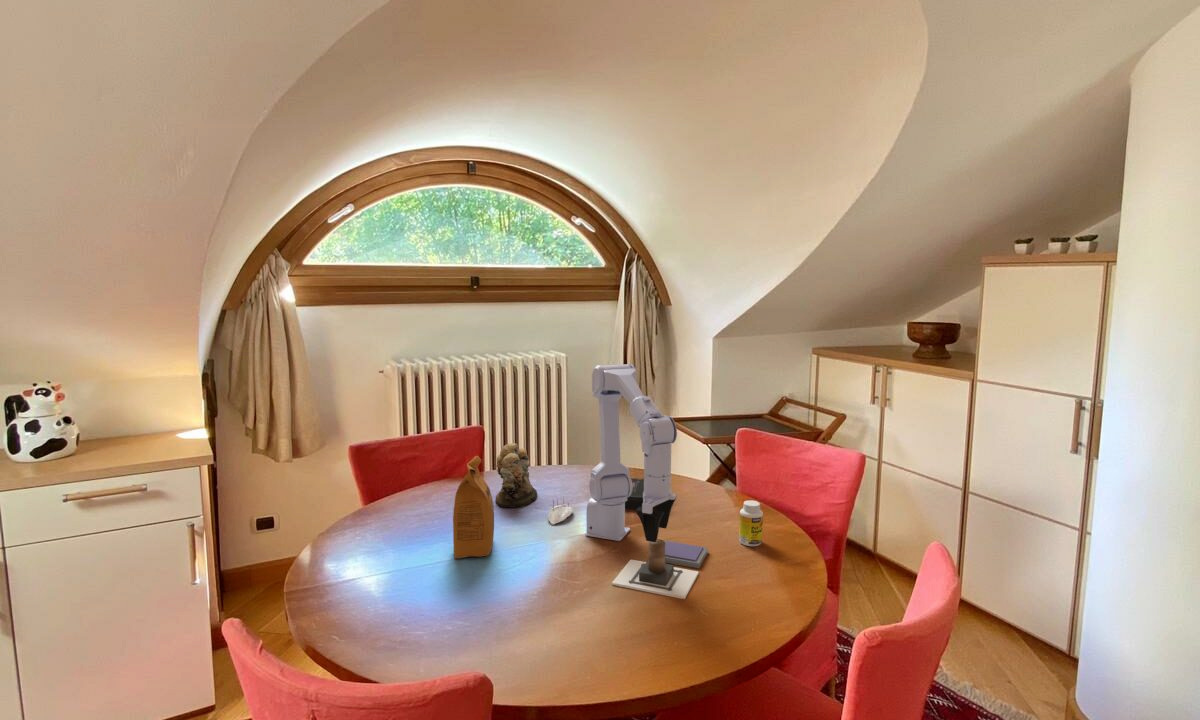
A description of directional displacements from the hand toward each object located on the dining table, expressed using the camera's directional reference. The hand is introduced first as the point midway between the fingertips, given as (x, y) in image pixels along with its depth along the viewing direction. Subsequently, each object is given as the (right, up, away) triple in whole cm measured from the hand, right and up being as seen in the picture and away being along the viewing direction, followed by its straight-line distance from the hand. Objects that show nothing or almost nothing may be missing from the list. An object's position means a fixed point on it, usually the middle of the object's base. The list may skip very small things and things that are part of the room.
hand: (656, 533), depth 137 cm
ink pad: (+7, -9, +13) cm, 17 cm away
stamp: (0, -10, +1) cm, 10 cm away
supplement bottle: (+25, -8, +20) cm, 33 cm away
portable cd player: (-2, -4, +51) cm, 51 cm away
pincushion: (-23, -6, +36) cm, 44 cm away
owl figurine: (-37, -4, +51) cm, 63 cm away
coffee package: (-42, -8, +16) cm, 46 cm away
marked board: (0, -10, +1) cm, 10 cm away
